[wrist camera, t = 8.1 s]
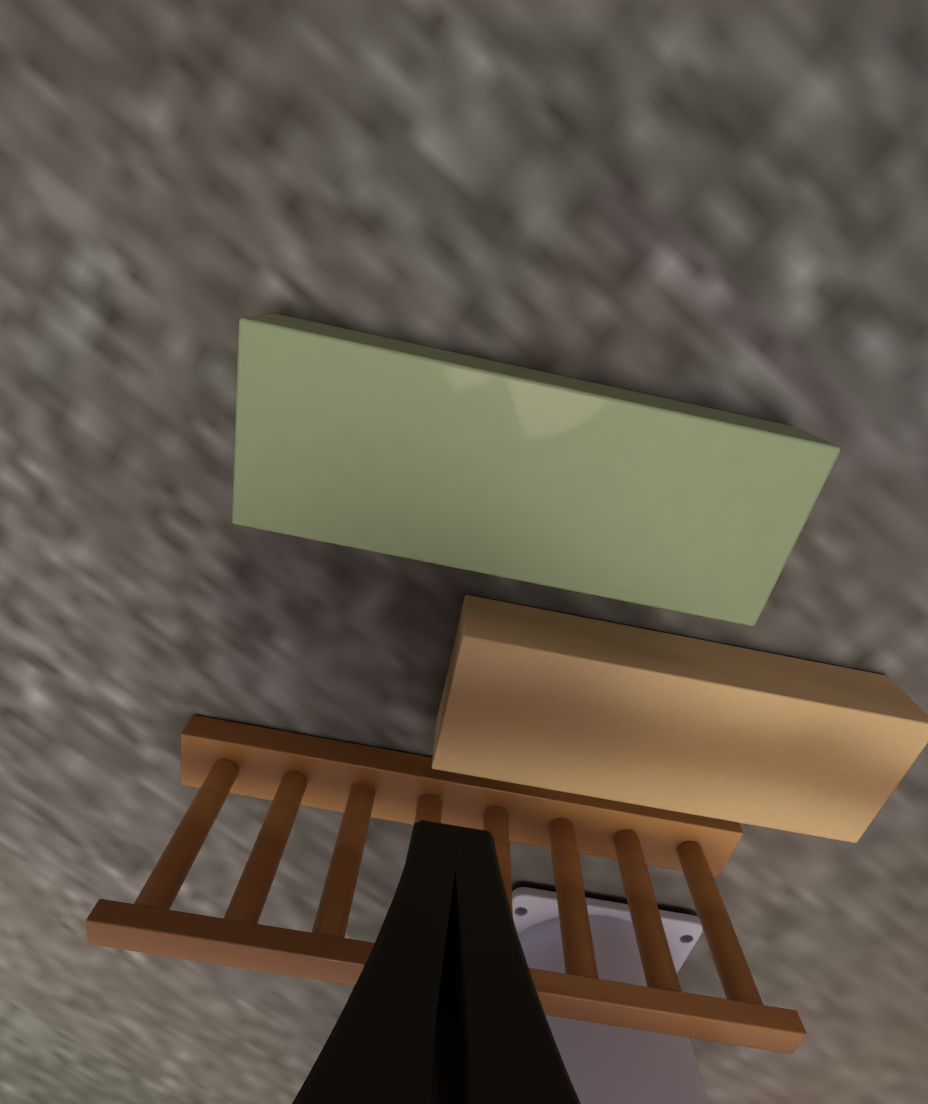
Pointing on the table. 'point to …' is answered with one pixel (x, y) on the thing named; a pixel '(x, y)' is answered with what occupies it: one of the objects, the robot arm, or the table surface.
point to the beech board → (672, 721)
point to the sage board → (516, 470)
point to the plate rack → (462, 800)
